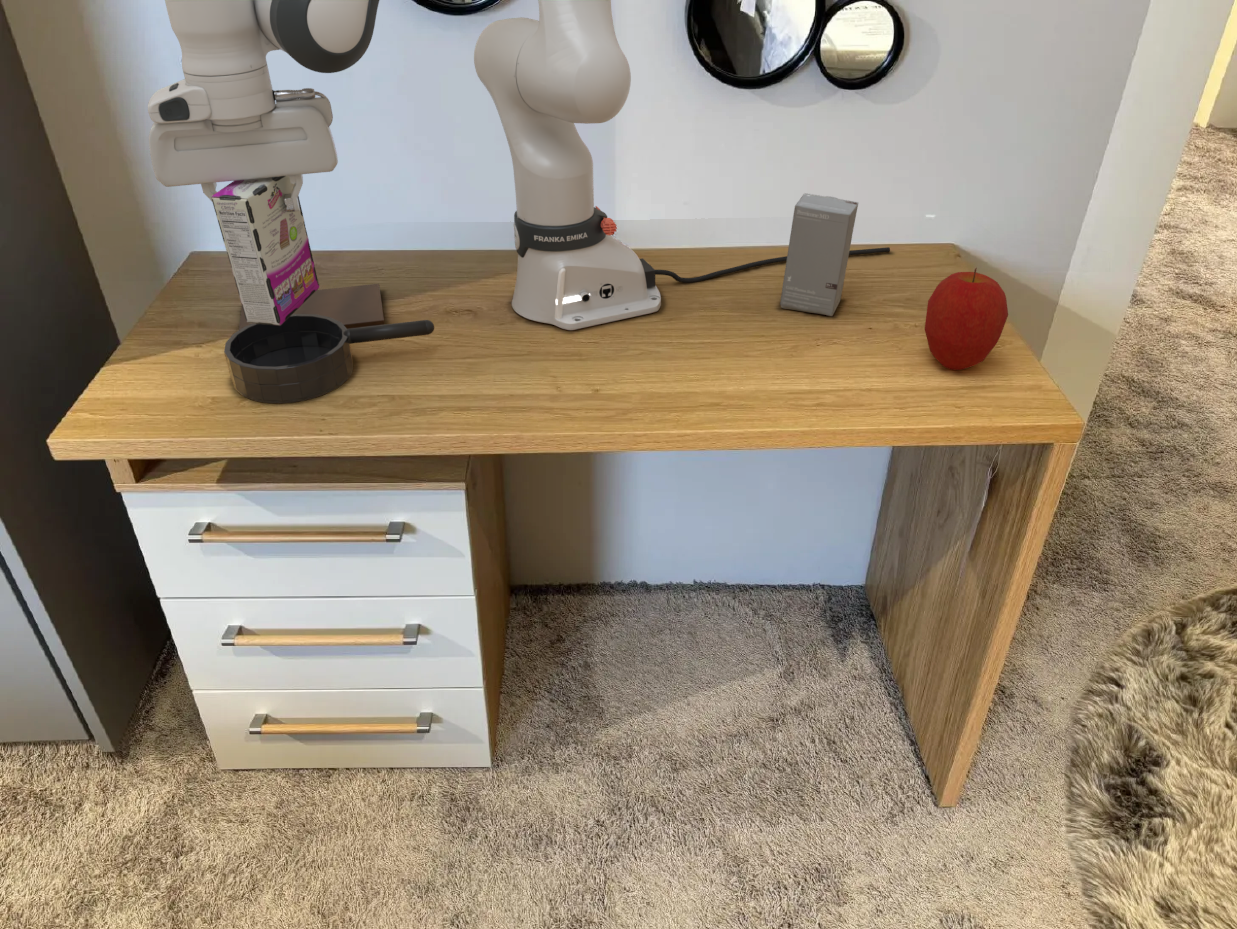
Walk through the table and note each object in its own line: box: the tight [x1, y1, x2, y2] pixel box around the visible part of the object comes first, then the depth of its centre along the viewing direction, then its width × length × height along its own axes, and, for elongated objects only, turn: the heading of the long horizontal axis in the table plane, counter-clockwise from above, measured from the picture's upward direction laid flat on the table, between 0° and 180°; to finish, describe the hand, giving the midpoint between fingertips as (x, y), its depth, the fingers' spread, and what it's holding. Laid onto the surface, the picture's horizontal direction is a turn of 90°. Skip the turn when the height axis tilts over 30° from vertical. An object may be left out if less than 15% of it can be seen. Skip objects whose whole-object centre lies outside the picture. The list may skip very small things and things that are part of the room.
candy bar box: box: [211, 176, 320, 325], centre depth 117 cm, size 11×5×16 cm, turn 169°
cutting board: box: [238, 283, 385, 331], centre depth 141 cm, size 20×13×2 cm, turn 105°
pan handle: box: [343, 319, 435, 345], centre depth 128 cm, size 12×2×2 cm, turn 105°
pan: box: [223, 314, 354, 404], centre depth 126 cm, size 15×15×5 cm
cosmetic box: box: [779, 192, 859, 317], centre depth 140 cm, size 8×7×16 cm
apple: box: [924, 267, 1009, 371], centre depth 125 cm, size 10×10×14 cm
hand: (260, 213), depth 115 cm, fingers closed on candy bar box, 6 cm apart
